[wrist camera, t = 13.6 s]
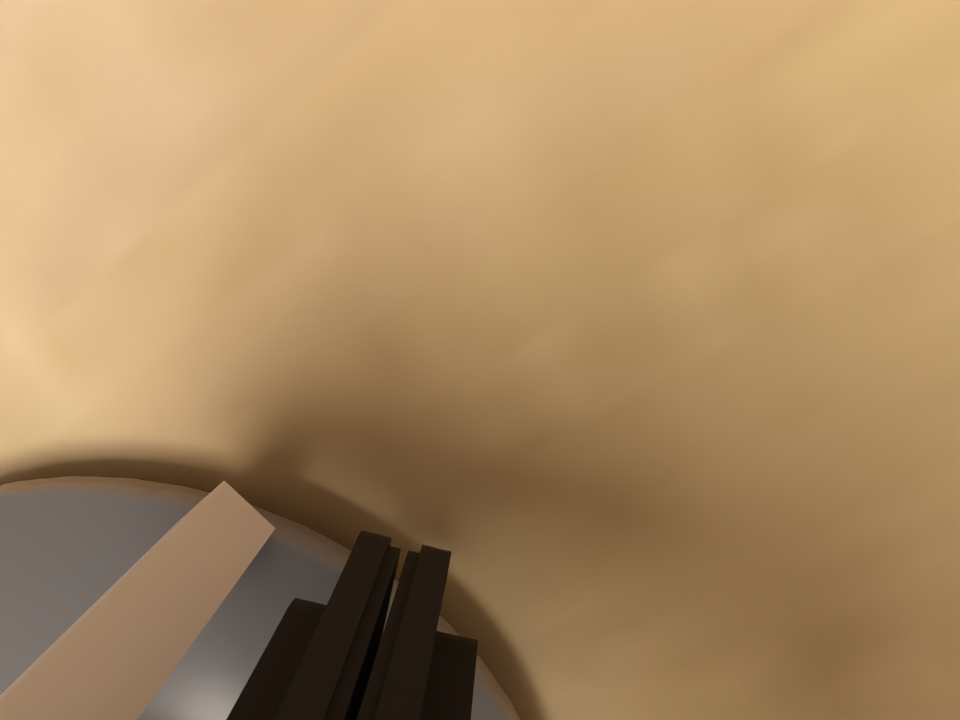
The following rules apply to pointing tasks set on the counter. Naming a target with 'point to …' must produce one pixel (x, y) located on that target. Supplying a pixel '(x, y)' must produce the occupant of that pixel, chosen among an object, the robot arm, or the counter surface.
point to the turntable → (154, 599)
